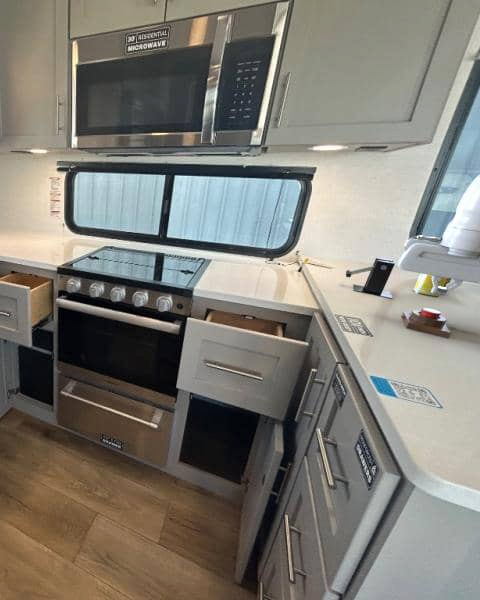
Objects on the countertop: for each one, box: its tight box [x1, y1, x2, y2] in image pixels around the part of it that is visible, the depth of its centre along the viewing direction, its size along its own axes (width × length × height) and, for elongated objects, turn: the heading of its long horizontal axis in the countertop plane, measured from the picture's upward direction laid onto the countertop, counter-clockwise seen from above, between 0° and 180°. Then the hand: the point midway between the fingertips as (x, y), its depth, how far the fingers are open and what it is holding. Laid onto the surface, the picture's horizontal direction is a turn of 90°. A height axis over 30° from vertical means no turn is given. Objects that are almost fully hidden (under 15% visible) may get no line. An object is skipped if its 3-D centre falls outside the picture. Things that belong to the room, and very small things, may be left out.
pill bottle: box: [412, 273, 448, 298], centre depth 110 cm, size 6×6×12 cm
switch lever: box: [345, 261, 388, 278], centre depth 110 cm, size 11×5×2 cm
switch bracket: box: [352, 257, 396, 300], centre depth 109 cm, size 10×8×12 cm
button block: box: [400, 309, 452, 339], centre depth 88 cm, size 10×8×4 cm
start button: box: [420, 307, 442, 319], centre depth 87 cm, size 4×4×2 cm
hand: (438, 294), depth 85 cm, fingers closed
